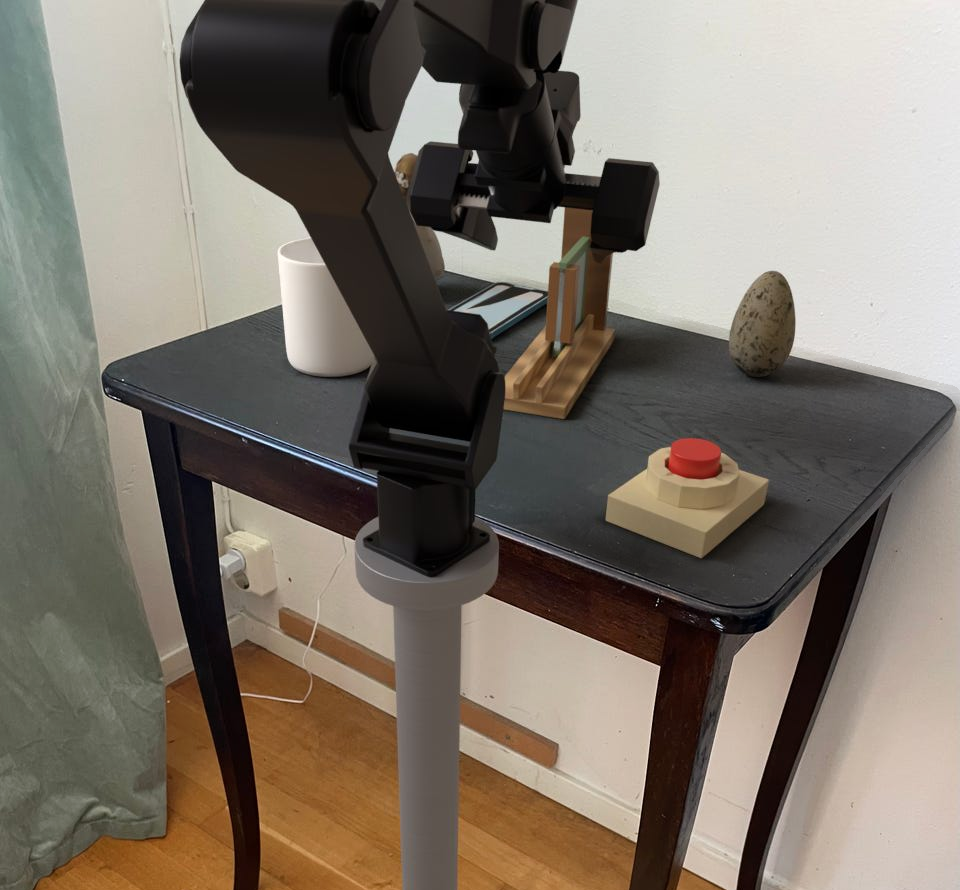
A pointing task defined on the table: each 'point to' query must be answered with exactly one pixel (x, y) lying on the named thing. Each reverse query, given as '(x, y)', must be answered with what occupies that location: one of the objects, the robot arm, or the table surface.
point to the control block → (686, 504)
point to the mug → (317, 316)
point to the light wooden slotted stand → (561, 379)
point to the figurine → (425, 233)
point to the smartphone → (503, 305)
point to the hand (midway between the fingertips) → (546, 251)
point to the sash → (567, 295)
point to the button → (694, 458)
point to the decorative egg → (763, 326)
